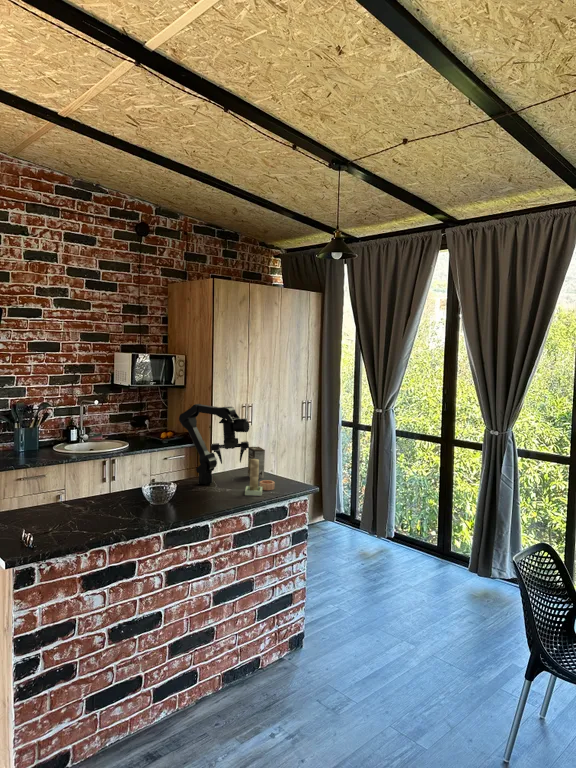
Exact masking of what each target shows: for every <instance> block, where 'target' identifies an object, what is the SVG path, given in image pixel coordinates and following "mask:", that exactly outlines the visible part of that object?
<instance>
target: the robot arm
mask: <svg viewBox="0 0 576 768" xmlns="http://www.w3.org/2000/svg"><path fill="white" fill-rule="evenodd" d="M200 413H202V414H208V415H213V416H216V417H218V418H221V419H220V420H219V422H218V423H219V424H222V426H223V427H222V428H223V429H222V430H223V432H222V433H223V444H220V443H219V442H218V443H217V442H216V443H211V445H210V451H213V452H210V451H209V450H208V448H207V446H206V444H205V442H204V439H203V437H202V434H201V433H200V430H199V429H198V427H197V421H198V420H197V417H198V416H199V415H200ZM178 421H179V423H180V424H181V426H182V427H183V428H185V430H187V432H188V434H189V436H190V438H191V440H192V442H193V444H194V447H195V449H196V451H197V453H198V456H199V461H198V462H199V465H198V466H197V467H196V468H195V470H196V473H197V474H198V483H197V485H198V484H205V485H204V486H211V485H212V484H213V482H214V480H213V479H214V474H213V471H215V468H216V467H217V464H218V461H217V459H219V461H220V464H221V465H223V458H222V452H221V449H225V450H230V449H232V450H233V449H235V448H240V451H239V463H241V462H242V458H243V454H244V453H245V451H247V449H248V448H249V447H250V443H249V441H240V443H239V438H238V437H236V433H248V432H250V427H251V426H250V423H249V421H248V419H247V418H246V417H244V418H241V417H240V415H239V414H238V412H237V411H236V409H235V407H233V406H213V405H206V404H201V403H195V404H193V405H192V406H190V408H188V409H187V410H185V411H184V412H183V413H180V414H179V417H178ZM215 453H216V454H217V456H218V458H217V457H216V455H215Z"/></svg>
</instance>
